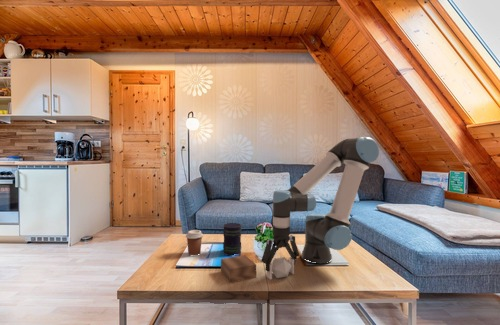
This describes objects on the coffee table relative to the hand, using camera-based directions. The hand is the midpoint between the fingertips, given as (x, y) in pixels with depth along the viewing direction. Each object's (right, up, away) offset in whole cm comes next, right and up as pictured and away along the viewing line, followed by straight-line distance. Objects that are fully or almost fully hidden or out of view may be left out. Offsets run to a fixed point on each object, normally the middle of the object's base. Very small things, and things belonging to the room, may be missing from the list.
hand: (280, 275), depth 118 cm
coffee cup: (-43, +1, +26) cm, 50 cm away
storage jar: (-23, 0, +28) cm, 37 cm away
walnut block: (-19, 0, +1) cm, 19 cm away
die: (0, 0, 0) cm, 0 cm away
